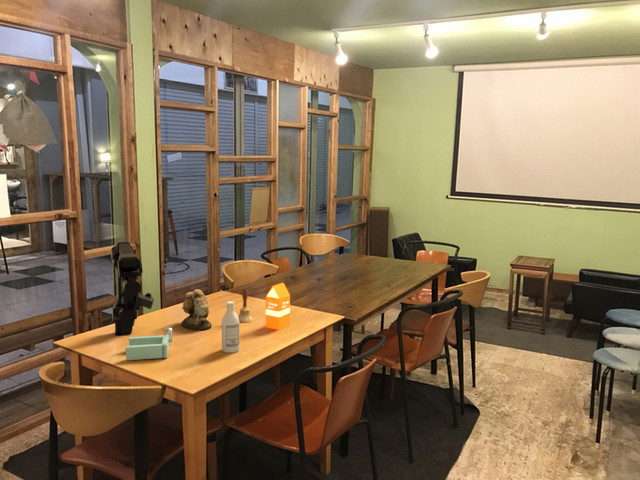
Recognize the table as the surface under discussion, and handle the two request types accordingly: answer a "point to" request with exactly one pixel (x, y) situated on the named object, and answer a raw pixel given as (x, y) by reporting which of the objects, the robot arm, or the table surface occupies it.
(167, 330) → the peg
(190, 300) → the owl figurine
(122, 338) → the table surface
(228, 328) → the bath foam
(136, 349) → the c link
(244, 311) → the hand bell
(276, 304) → the orange juice
